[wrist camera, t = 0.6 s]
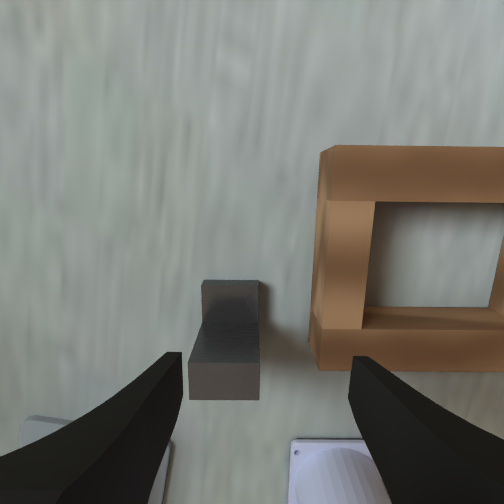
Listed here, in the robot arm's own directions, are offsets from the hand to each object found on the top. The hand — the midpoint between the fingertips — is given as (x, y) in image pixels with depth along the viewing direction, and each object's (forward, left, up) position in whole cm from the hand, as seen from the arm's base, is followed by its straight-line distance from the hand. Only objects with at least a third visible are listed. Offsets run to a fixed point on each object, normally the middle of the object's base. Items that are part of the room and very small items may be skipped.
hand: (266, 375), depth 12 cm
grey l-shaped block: (-2, +2, -10) cm, 10 cm away
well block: (+3, -12, -10) cm, 15 cm away
